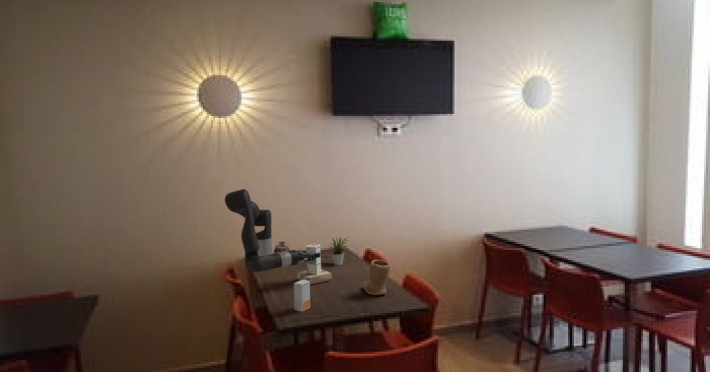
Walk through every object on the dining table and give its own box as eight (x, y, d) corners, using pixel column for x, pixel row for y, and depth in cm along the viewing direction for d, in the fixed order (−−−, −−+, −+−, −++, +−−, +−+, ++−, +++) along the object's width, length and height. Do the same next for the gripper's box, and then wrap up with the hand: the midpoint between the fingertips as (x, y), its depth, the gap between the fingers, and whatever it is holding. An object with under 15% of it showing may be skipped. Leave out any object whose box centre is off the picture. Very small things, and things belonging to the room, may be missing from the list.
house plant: (357, 262, 283) (356, 234, 281) (344, 268, 271) (343, 239, 270) (336, 259, 291) (336, 232, 289) (323, 265, 279) (322, 237, 277)
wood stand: (297, 280, 252) (296, 272, 251) (318, 275, 259) (318, 267, 259) (309, 286, 241) (309, 278, 241) (332, 281, 249) (331, 273, 248)
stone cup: (392, 295, 224) (392, 264, 223) (367, 297, 223) (366, 265, 221) (386, 285, 239) (385, 255, 238) (362, 287, 237) (361, 257, 236)
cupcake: (274, 256, 301) (273, 240, 300) (290, 255, 302) (289, 239, 301) (273, 260, 292) (272, 244, 291) (289, 259, 293) (289, 243, 292)
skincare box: (302, 312, 206) (301, 284, 205) (294, 310, 209) (293, 283, 207) (310, 307, 211) (310, 280, 210) (303, 306, 214) (302, 279, 212)
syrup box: (321, 271, 252) (320, 244, 250) (316, 274, 246) (315, 246, 245) (311, 270, 254) (310, 243, 252) (306, 274, 248) (305, 246, 246)
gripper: (293, 253, 234) (322, 248, 243) (280, 248, 246) (308, 243, 255) (294, 269, 235) (323, 263, 244) (280, 263, 246) (308, 257, 256)
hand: (315, 253), depth 250 cm, fingers open, 8 cm apart
